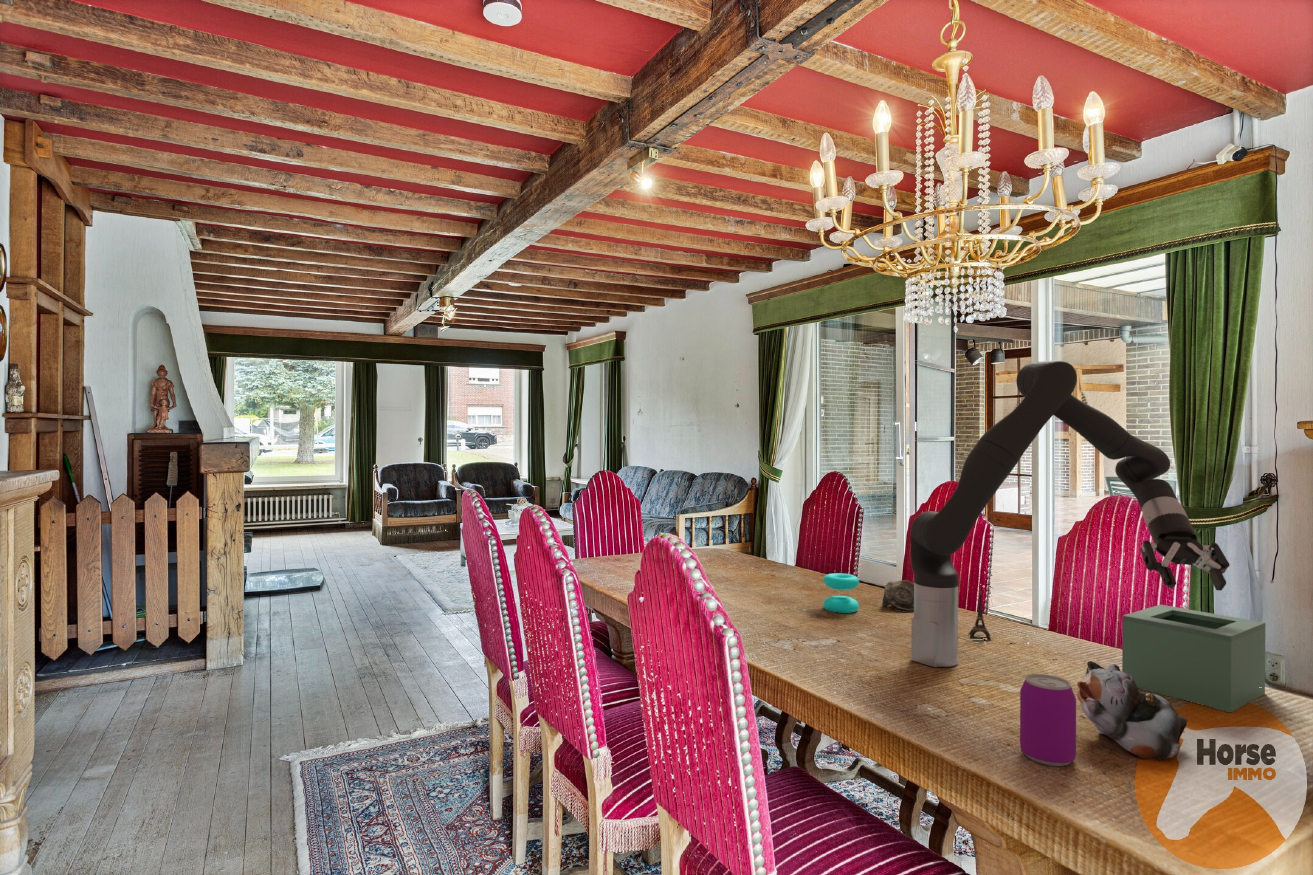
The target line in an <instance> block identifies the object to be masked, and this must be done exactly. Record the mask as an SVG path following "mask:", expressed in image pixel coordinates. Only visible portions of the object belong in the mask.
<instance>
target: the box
mask: <svg viewBox="0 0 1313 875" xmlns="http://www.w3.org/2000/svg"><path fill="white" fill-rule="evenodd" d="M1121 650H1122V654H1121V655H1122V657H1121V658H1122V659H1121V661H1122V664H1121V665H1122V668H1121V669H1122V670H1121V672H1124V673H1126V674H1128V675H1130V676H1131V677H1132V678H1133V679H1134V681H1135V684H1136V686H1137V688H1138V690H1144V691H1145V692H1146V691H1147V692H1149V693H1153V694H1156V695H1160V696H1161V695H1162V696H1166V697H1170V698H1173V699H1176V698H1177V700H1180V699H1181V700H1182V701H1184V700H1186V701H1185V702H1188V701H1192V702H1194V703H1193V704H1195V703H1199V704H1203V705H1206V706H1205V707H1207V706H1209V707H1208V708H1211V707H1213V708H1212V709H1214V708H1215V710H1219V711H1222V712H1227V713H1229V712H1231V713H1233V712H1234V710H1235V711H1236V710H1238V709H1240V708H1241V707H1244V706H1246V705H1247V704H1250V703H1251V702H1253V701H1254V700H1256V699H1258V698H1260V697H1262V696H1263V695H1266V694H1265V693H1266V622H1263V621H1258V620H1252V619H1245V618H1240V617H1234V616H1228V615H1224V614H1223V615H1222V614H1217V613H1211V612H1206V611H1199V610H1194V609H1190V608H1189V609H1188V608H1182V607H1176V606H1171V605H1165V604H1158V605H1155V606H1151V607H1148V608H1145V609H1144V608H1143V609H1142V610H1141V609H1140V610H1138V611H1134V612H1131V613H1128V614H1124V615H1122V649H1121ZM1259 687H1262V688H1259ZM1192 702H1191V703H1192ZM1199 704H1198V705H1199ZM1203 705H1202V706H1203Z"/></svg>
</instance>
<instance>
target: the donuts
mask: <svg viewBox="0 0 1313 875" xmlns="http://www.w3.org/2000/svg"><path fill="white" fill-rule="evenodd" d="M823 583H824V585H825V586H827V587H828V588H830V589H833V590H838V591H839V590H841V591H848V590H849V591H850V590H853V589H855V588H857V587H858V586H859V584H860V580H859V578H858V577H857V576H856V575H853V574H851V573H844V572H843V573H841V572H839V573H837V572H836V573H828V574H826V575H824V576H823ZM822 605H823V608H824V609H825V610H826V611H828V610H829V611H828V612H831V611H833V612H832V613H836V612H838V613H837V614H852V612H853V613H855V612H857V611H858V610H859V609H860V608H859V607H860V605H859V602H858V601H857V600H856V599H855V598H854V597H850V596H846V595H845V596H844V595H832V596H829V597H826V598H825V599H824V600H823V602H822Z"/></svg>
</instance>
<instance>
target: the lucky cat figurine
mask: <svg viewBox="0 0 1313 875" xmlns="http://www.w3.org/2000/svg"><path fill="white" fill-rule="evenodd" d="M1086 663H1087V664H1086V665H1087V668H1086V672H1085V674H1084V677H1083V678H1084V679H1082V680H1081V681H1078V682H1077V684H1076V685H1077V687H1078V688H1077V691H1076V696H1077V699H1078V701H1079V702H1080V710H1081V711H1082V713H1084V715H1085V716H1086V717H1087V719H1088V721H1089V722H1091V723H1092V724H1093V725H1094V726H1095V727H1096V730H1097V732H1098V734H1101V735H1102V734H1103V735H1105V736H1107V737H1108V738H1110V739H1111V740H1113V741H1115V742H1116V743H1118V745H1119V746H1121V747H1122V748H1123V749H1125V750H1126V751H1128V752H1130V753H1131V754H1132V755H1134V756H1136V757H1137V758H1140V759H1144V760H1151V761H1161V760H1162V761H1164V760H1165V759H1172V758H1173V757H1174V756H1176V755H1177V754H1178V753H1179V751H1180V750H1181V743H1180V738H1181V737H1182V735H1183V732H1184V731H1185V729H1186V727H1187V726H1188V718H1186V717H1185V716H1183V715H1180V714H1179V713H1178V712H1177V711H1176V710H1175V708H1174V707H1173V705H1172V704H1171V703H1170V701H1168V700H1167V699H1166V698H1164V697H1163V696H1161V695H1160V694H1157V693H1153V692H1146V691H1145V692H1144V691H1140V689H1139V688H1137V686H1136V684H1135V681H1134V679H1133V678H1132V677H1131V676H1130V675H1128V674H1126V673H1124V672H1122V670H1121V668H1120V667H1119V665H1118V664H1116V663H1110V664H1109V666H1108V667H1106V668H1105V667H1104V666H1101V665H1100V664H1098V663H1097V662H1095V661H1092V660H1089V661H1088V662H1086Z"/></svg>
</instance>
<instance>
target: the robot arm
mask: <svg viewBox="0 0 1313 875" xmlns="http://www.w3.org/2000/svg"><path fill="white" fill-rule="evenodd" d="M1015 380H1016V387H1017V390H1018V392H1019V393H1020V394H1021V396H1023V397H1024V398H1023V399H1022V401H1021V402H1020V403H1018V405H1017V406H1016V407H1015V408H1014V409H1013V410H1012V411H1011V412H1009V413H1008V414H1007V415H1006V416H1004V417H1003V418H1002V419H1000V420H998V422H997V423H995V424H994V425H992V426H991V427H990V428H988V430H986V431H985V432H984V433H983V434H982V436H981V437H980V438H979V439H978V441H977V442H976V443H975V445H974V446H973V448H972V449H971V450H970V452H969V454H968V455H967V457H966V458H965V460H964V463H963V466H962V470H961V472H960V477H959V481H958V484H957V486H956V488H955V489H954V492H953V493H952V495H951V497H950V498H949V499H948V501H947V502H946V503H945V504H944V505H943V506H942V508H941V509H940V510H938V511H931V510H929V511H924V512H921V513H920V514H918V515H917V516H916V517H915V518H914V520H913V522H912V524H911V528H910V540H909V541H910V542H909V543H910V565H911V571H912V572H913V581H914V582H913V584H914V611H913V617H912V618H911V629H910V630H911V639H910V641H911V643H910V644H911V645H910V647H911V648H910V649H911V650H910V654H911V656H910V657H911V658H910V659H911V661H913V662H917V663H920V664H923V665H926V666H929V667H933V668H937V667H940V668H941V667H943V668H944V667H945V668H947V667H953V666H956V665H958V664H959V662H958V660H959V658H958V657H959V656H958V655H959V654H958V653H959V642H958V641H959V638H958V637H959V574H958V571H956V568H955V567H954V564H953V562H952V555H953V554H956V552H958V551H959V550H960V549H961V548H962V546H963V545H964V544H965V542H966V540H967V538H968V536H969V535H970V533H971V531H972V529H973V528H974V526H975V524H976V522H977V520H978V518H979V517H980V516H981V514H982V512H983V510H984V509H985V508H986V506H987V505H988V503H989V502H991V499H992V498H993V497H994V495H995V494H996V492H997V491H998V490H999V488H1000V487H1001V485H1002V484H1003V483H1004V481H1005V480H1006V479H1007V478H1008V477H1009V475H1010V474H1011V472H1012V471H1013V469H1014V468H1015V467H1016V465H1017V464H1018V463H1019V461H1020V460H1021V458H1022V456H1023V455H1024V454H1025V452H1026V451H1027V450H1028V448H1029V447H1030V445H1031V444H1032V443H1033V441H1034V440H1035V439H1036V437H1037V436H1038V434H1040V431H1041V430H1042V429H1043V427H1044V426H1045V425H1046V424H1047V423H1048V422H1049V420H1050V419H1051V418H1052V416H1054V417H1056V418H1057V419H1059V420H1060V421H1062V422H1063V423H1065V424H1066V425H1068V427H1070V428H1071V429H1072V430H1074V431H1075V432H1077V433H1078V435H1080V437H1082V438H1084V439H1085V441H1087V442H1088V443H1089V444H1091V446H1093V447H1094V448H1095V449H1096V450H1097V451H1099V453H1101V454H1102V455H1103V456H1105V457H1106V458H1107V459H1109V460H1112V461H1115V460H1119V461H1117V463H1116V464H1115V469H1114V472H1115V475H1116V476H1117V477H1118V479H1119V480H1120V481H1121V482H1122V483H1123V484H1124V485H1126V487H1127V488H1128V489H1129V490H1130V491H1131V493H1132V494H1133V496H1134V497H1135V499H1136V501H1137V503H1138V505H1139V507H1140V510H1141V513H1142V516H1143V520H1144V523H1145V525H1146V527H1147V530H1148V532H1149V534H1150V536H1151V539H1152V542H1153V543H1152V542H1151V541H1150V540H1147V539H1146V540H1144V541H1143V543H1142V544H1141V546H1140V547H1139V550H1140V553H1141V556H1142V558H1143V562H1144V564H1145V568H1146V570H1148V571H1156V572H1157V573H1159V576H1160V577H1161V580H1162V582H1163V584H1164V585H1165V586H1167V588H1168V589H1174V588H1175V587H1176V585H1177V581H1176V577H1175V576H1174V574H1173V571H1172V569H1171V567H1168V566H1169V565H1170V563H1172V564H1174V565H1187V566H1192V565H1193V566H1194V567H1196V568H1198V569H1199V570H1203V571H1205V572H1206V573H1208V575H1209V579H1210V580H1211V583H1212V584H1213V586H1214V589H1215V591H1223V589H1224V588H1225V586H1226V584H1227V580H1226V578H1225V576H1224V574H1225V573H1226V571H1227V570H1228V568H1230V565H1231V564H1230V562H1229V561H1228V559H1227V556H1225V554H1224V552H1223V550H1222V549H1221V547H1220V546H1219V544H1218V543H1216V542H1211V544H1210V545H1208V544H1205V545H1204V544H1202V543H1200V541H1199V540H1198V538H1197V534H1196V532H1195V529H1194V528H1193V525H1192V524H1191V521H1190V519H1189V517H1188V514H1187V512H1186V510H1185V509H1184V508H1183V506H1182V504H1181V503H1180V501H1179V500H1178V497H1177V495H1176V493H1175V491H1174V489H1173V487H1172V486H1171V484H1170V483H1169V482H1168V481H1167V480H1164V479H1159V478H1158V477H1160V476H1162V475H1164V474H1165V473H1167V472H1169V470H1170V468H1171V460H1170V458H1169V456H1168V455H1167V453H1166V452H1164V451H1163V450H1162V449H1160V448H1159V447H1157V446H1156V445H1153V444H1151V443H1149V442H1147V441H1145V440H1142V439H1140V438H1138V437H1136V436H1134V435H1132V434H1131V433H1129V431H1127V430H1126V429H1125V428H1123V426H1122V425H1120V424H1119V423H1118V422H1117V421H1116V420H1114V418H1112V417H1111V416H1109V415H1107V414H1105V412H1102V411H1100V410H1099V409H1096V408H1095V407H1092V406H1091V405H1089V404H1088V403H1086V402H1084V401H1082V400H1080V399H1079V398H1077V397H1076V396H1074V395H1072V394H1073V393H1074V390H1075V388H1076V386H1077V382H1078V374H1077V371H1076V369H1075V367H1074V366H1073V365H1072V364H1071V363H1069V362H1068V361H1065V360H1053V359H1052V360H1041V361H1035V362H1030V363H1027V364H1025V365H1024V366H1023V367H1021V369H1020V370H1019V371H1018V373H1017V375H1016V379H1015ZM1155 551H1156V552H1157V553H1159V554H1160V555H1161V556H1162V557H1163V559H1162V561H1158V560H1157V558H1156V557H1157V556H1156V555H1155ZM1199 559H1201V561H1199Z"/></svg>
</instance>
